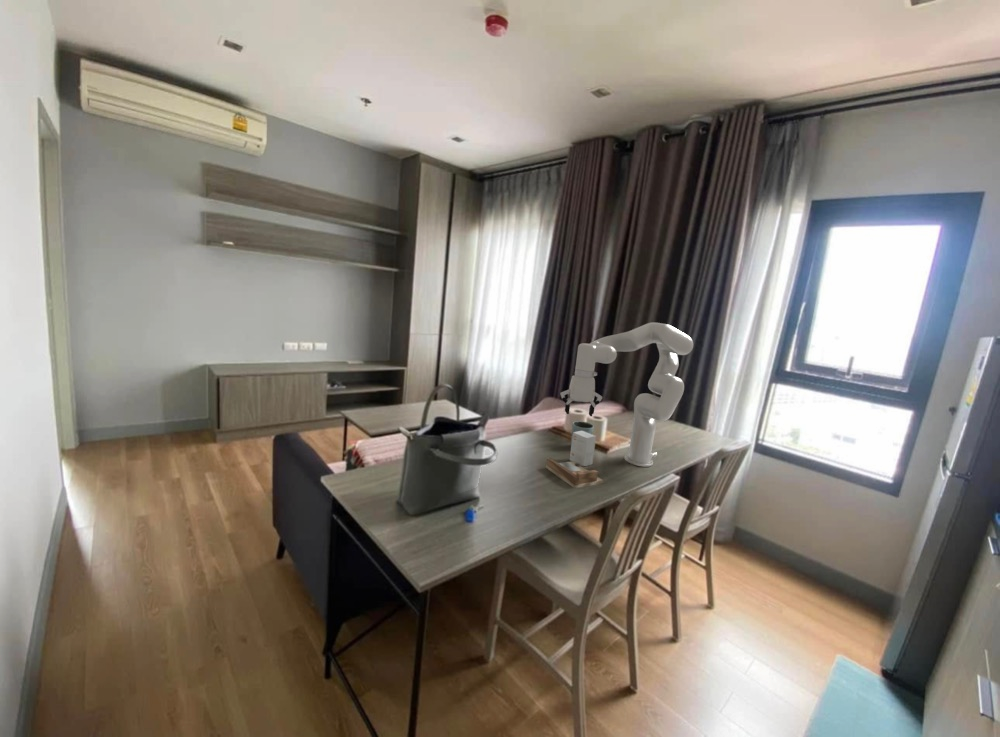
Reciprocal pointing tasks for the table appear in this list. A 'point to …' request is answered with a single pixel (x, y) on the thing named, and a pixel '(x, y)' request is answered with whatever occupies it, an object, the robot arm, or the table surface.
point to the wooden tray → (573, 473)
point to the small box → (582, 448)
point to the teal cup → (581, 427)
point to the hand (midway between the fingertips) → (578, 414)
